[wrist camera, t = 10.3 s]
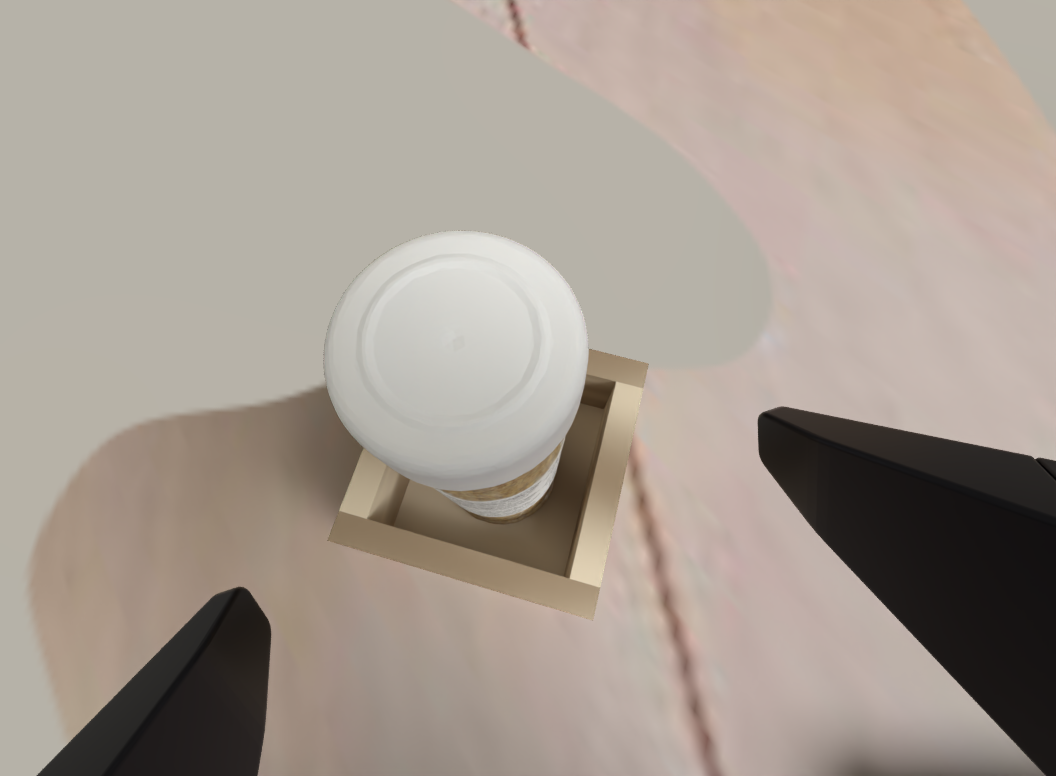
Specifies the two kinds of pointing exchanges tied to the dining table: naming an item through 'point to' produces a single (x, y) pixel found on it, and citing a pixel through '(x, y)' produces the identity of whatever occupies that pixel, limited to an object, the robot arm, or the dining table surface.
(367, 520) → the beech holder
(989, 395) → the dining table surface
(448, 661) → the dining table surface
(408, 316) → the sprinkles bottle
